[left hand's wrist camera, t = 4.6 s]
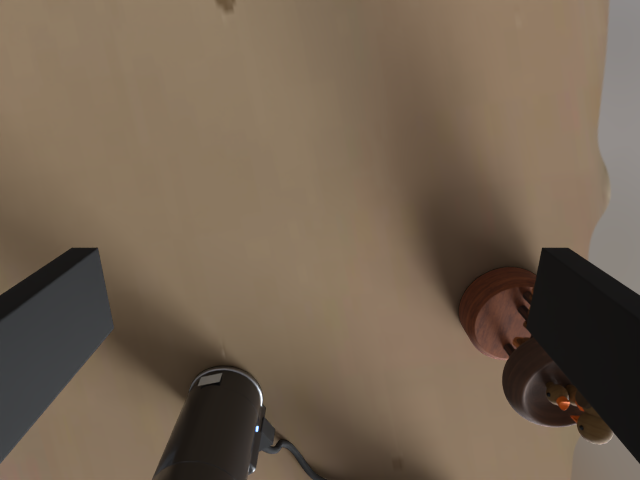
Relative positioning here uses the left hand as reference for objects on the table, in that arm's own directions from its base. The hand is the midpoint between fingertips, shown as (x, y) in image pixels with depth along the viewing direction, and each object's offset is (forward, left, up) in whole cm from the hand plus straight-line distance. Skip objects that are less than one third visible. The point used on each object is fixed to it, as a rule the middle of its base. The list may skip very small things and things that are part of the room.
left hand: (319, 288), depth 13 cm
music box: (+20, +22, -32) cm, 44 cm away
